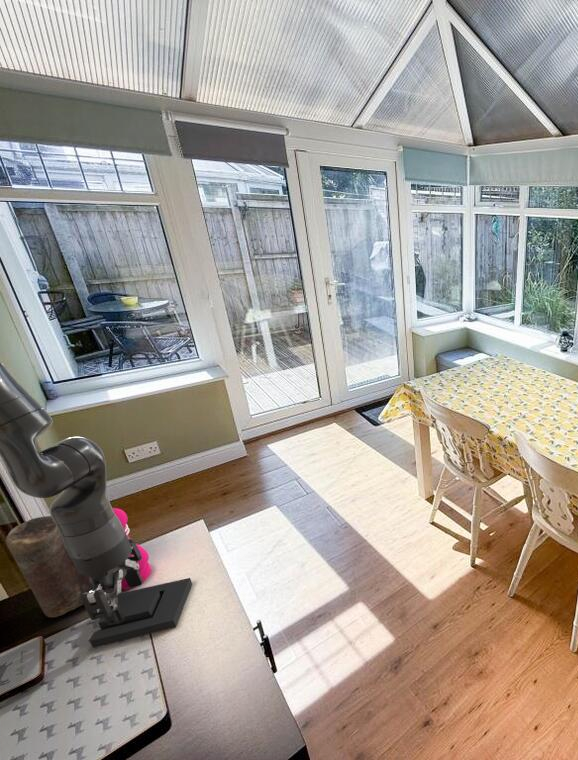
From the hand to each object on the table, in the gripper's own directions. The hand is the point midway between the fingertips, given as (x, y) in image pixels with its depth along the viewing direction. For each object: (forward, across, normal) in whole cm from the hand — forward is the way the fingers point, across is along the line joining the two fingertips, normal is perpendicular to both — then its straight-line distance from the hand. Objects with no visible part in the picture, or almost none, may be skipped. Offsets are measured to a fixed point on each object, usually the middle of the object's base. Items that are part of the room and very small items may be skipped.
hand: (127, 602), depth 81 cm
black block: (+4, 0, 0) cm, 4 cm away
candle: (+4, -8, -13) cm, 16 cm away
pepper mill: (+4, -11, -4) cm, 12 cm away
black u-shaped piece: (+4, 0, +2) cm, 4 cm away
